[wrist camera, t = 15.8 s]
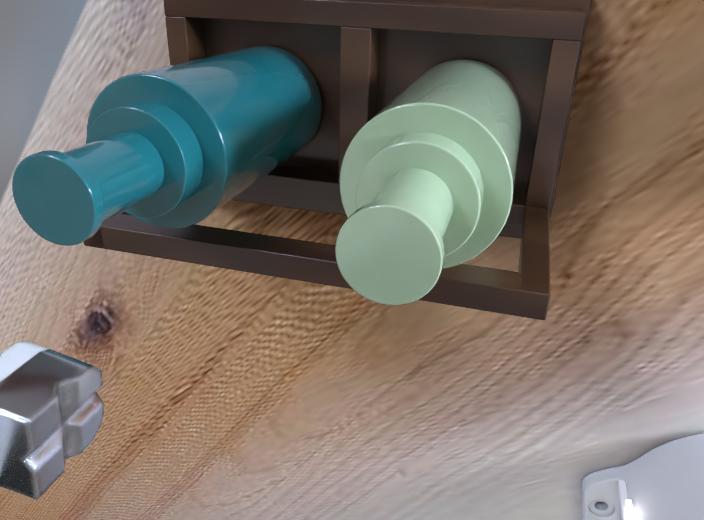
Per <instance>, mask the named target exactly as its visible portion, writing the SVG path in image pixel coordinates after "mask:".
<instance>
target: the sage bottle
mask: <svg viewBox="0 0 704 520" xmlns="http://www.w3.org/2000/svg"><path fill="white" fill-rule="evenodd" d="M521 127H522V109H521V104H520V101H519V98H518V95H517V93H516V91H515V89H514V87H513V86H512V84H511V83H510V81H509V80H508V79H507V78H506V77H505V76H504V75H503V74H502V73H501V72H499V71H498V70H497V69H495V68H493V67H492V66H490V65H488V64H485V63H483V62H479V61H476V60H469V59H457V60H450V61H446V62H443V63H440V64H438V65H436V66H434V67H432V68H431V69H429V70H427V71H426V72H425V73H424V74H422V75H421V76H420V77H419V78H418V79H417V80H415V81H414V82H413V83H412V84H411V85H410V86H409V87H407V88H406V89H405V90H404V91H403V92H402V93H401V94H399V95H398V96H397V97H396V98H395V99H394V100H392V101H391V102H390V103H389V104H388V105H387V106H386V107H384V108H383V109H382V110H381V111H380V112H379V113H378V114H376V115H375V116H374V117H373V118H372V119H371V120H370V121H368V122H367V123H366V124H365V125H364V126H363V127H362V128H361V129H360V130H359V131H358V133H357V134H356V135H355V137H354V138H353V139H352V141H351V143H350V145H349V146H348V148H347V150H346V153H345V156H344V158H343V162H342V166H341V171H340V194H341V199H342V204H343V207H344V210H345V213H346V215H347V217H348V219H347V220H346V222H345V223H344V224H343V226H342V227H341V229H340V231H339V234H338V236H337V240H336V247H335V253H336V260H337V264H338V267H339V270H340V272H341V274H342V276H343V277H344V279H345V280H346V282H347V283H348V284H349V285H350V286H351V287H352V288H353V289H354V290H355V291H356V292H357V293H359V294H360V295H362V296H363V297H365V298H367V299H369V300H371V301H374V302H376V303H380V304H385V305H403V304H407V303H411V302H414V301H416V300H418V299H420V298H422V297H423V296H425V295H426V294H427V293H428V292H429V291H430V290H431V289H432V288H433V287H434V285H435V284H436V283H437V281H438V279H439V276H440V274H441V271H442V269H443V268H449V267H453V266H456V265H459V264H462V263H464V262H467V261H469V260H471V259H472V258H474V257H476V256H477V255H479V254H480V253H481V252H483V251H484V250H485V249H487V248H488V247H489V246H490V245H491V244H492V243H493V241H494V240H495V239H496V238H497V236H498V235H499V234H500V232H501V231H502V229H503V227H504V225H505V223H506V221H507V218H508V216H509V213H510V209H511V205H512V200H513V192H514V184H515V176H516V168H517V159H518V151H519V143H520V135H521Z"/></svg>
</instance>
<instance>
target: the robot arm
mask: <svg viewBox="0 0 704 520" xmlns="http://www.w3.org/2000/svg"><path fill="white" fill-rule="evenodd" d="M102 385H103V382H102V371H101V370H100V369H98V368H96V367H95V366H92V365H89V364H87V363H84V362H82V361H79V360H76V359H74V358H71V357H69V356H66V355H63V354H61V353H58V352H56V351H53V350H50V349H47V348H44V347H42V346H39V345H36V344H34V343H31V342H28V341H23V342H18V343H15V344H14V345H13V346H11V347H10V348H8V349H7V350H6V351H4V352H3V353H1V354H0V486H1V487H4V488H6V489H9V490H12V491H15V492H17V493H20V494H23V495H25V496H28V497H31V498H34V499H36V500H38V499H39V498H40V497H41V496H42V495H43V493H44V492H45V491H46V490H47V489H48V488H49V487H50V486H51V485H52V484H53V483H54V482H55V481H56V480H57V479H58V478H59V477H60V476H61V475H62V473H63V472H64V471H65V460H66V459H67V458H70V457H72V456H75V455H78V454H80V453H82V452H83V451H84V450H85V449H86V448H87V447H88V446H89V444H90V443H91V442H92V441H93V439H94V438H95V436H96V434H97V432H98V430H99V428H100V426H101V423H102V419H103V415H104V403H103V402H102V400H101V399H100V397H99V395H98V394H97V392H96V391H97V390H98V389H99V388H100V387H101V386H102ZM581 491H582V520H704V433H702V434H696V435H691V436H687V437H683V438H679V439H676V440H673V441H670V442H668V443H665V444H663V445H660V446H658V447H656V448H654V449H652V450H651V451H649V452H647V453H646V454H644V455H642V456H641V457H639V458H638V459H636V460H634V461H632V462H630V463H628V464H626V465H623V466H618V467H613V468H608V469H603V470H599V471H596V472H593V473H591V474H588V475H587V476H586V477H584V479H583V481H582V485H581ZM599 501H602V502H599Z"/></svg>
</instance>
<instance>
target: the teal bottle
mask: <svg viewBox="0 0 704 520" xmlns="http://www.w3.org/2000/svg"><path fill="white" fill-rule="evenodd" d="M321 112H322V104H321V96H320V92H319V88H318V85H317V83H316V81H315V78H314V77H313V75H312V73H311V72H310V70H309V69H308V68H307V66H306V65H305V64H304V63H303V62H302V61H301V60H300V59H299V58H297V57H296V56H295V55H293V54H292V53H290V52H289V51H286V50H284V49H282V48H279V47H275V46H269V45H260V46H254V47H249V48H245V49H240V50H236V51H232V52H227V53H223V54H219V55H214V56H210V57H205V58H201V59H197V60H192V61H188V62H183V63H179V64H175V65H170V66H166V67H161V68H157V69H153V70H148V71H144V72H139V73H135V74H131V75H127V76H124V77H121V78H119V79H117V80H115V81H113V82H112V83H111V84H109V85H108V86H107V87H106V88H105V89H104V90H103V91H102V92H101V93H100V94H99V96H98V97H97V99H96V100H95V102H94V104H93V106H92V109H91V111H90V115H89V118H88V125H87V139H86V145H83V146H80V147H77V148H74V149H72V150H69V151H66V152H63V153H62V152H57V151H42V152H39V153H36V154H33V155H30V156H28V157H26V158H25V159H24V160H22V161H21V162H20V164H19V165H18V166H17V168H16V170H15V172H14V176H13V182H12V189H13V196H14V200H15V203H16V205H17V208H18V210H19V212H20V214H21V215H22V217H23V219H24V220H25V221H26V223H27V224H28V225H29V226H30V227H31V228H32V229H33V230H34V231H35V232H36V233H37V234H38V235H40V236H41V237H43V238H44V239H46V240H48V241H50V242H52V243H55V244H59V245H66V246H68V245H76V244H79V243H81V242H83V241H85V240H87V239H88V238H90V237H92V236H93V235H94V234H95V233H96V232H97V231H98V230H99V228H100V226H101V224H102V222H103V221H105V220H107V219H109V218H111V217H112V216H114V215H116V214H118V213H120V212H122V211H124V212H126V213H128V214H130V215H132V216H133V217H135V218H137V219H139V220H141V221H143V222H145V223H147V224H150V225H153V226H157V227H162V228H183V227H188V226H191V225H194V224H196V223H198V222H200V221H202V220H203V219H205V218H206V217H208V216H209V215H210V214H212V213H213V212H215V211H216V210H218V209H219V208H220V207H222V206H223V205H225V204H226V203H227V202H229V201H230V200H232V199H233V198H234V197H236V196H237V195H239V194H240V193H242V192H243V191H244V190H246V189H247V188H249V187H250V186H251V185H253V184H254V183H256V182H257V181H258V180H260V179H261V178H263V177H264V176H266V175H267V174H268V173H270V172H271V171H273V170H274V169H275V168H277V167H278V166H280V165H281V164H282V163H284V162H285V161H287V160H288V159H290V158H291V157H292V156H294V155H295V154H297V153H298V152H299V151H301V150H302V149H303V148H305V147H306V146H307V145H308V144H309V143H310V141H311V140H312V139H313V137H314V136H315V134H316V132H317V130H318V127H319V124H320V119H321Z"/></svg>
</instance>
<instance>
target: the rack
mask: <svg viewBox="0 0 704 520" xmlns="http://www.w3.org/2000/svg"><path fill="white" fill-rule="evenodd" d="M591 1H592V0H164V9H165V16H166V17H165V18H166V28H167V37H168V46H169V55H170V65H175V64H179V63H183V62H188V61H192V60H197V59H201V58H205V57H210V56H214V55H219V54H223V53H227V52H232V51H236V50H240V49H245V48H249V47H254V46H260V45H269V46H275V47H279V48H282V49H284V50H286V51H289V52H290V53H292V54H293V55H295V56H296V57H297V58H299V59H300V60H301V61H302V62H303V63H304V64H305V65H306V66H307V68H308V69H309V70H310V72H311V73H312V75H313V77H314V78H315V81H316V83H317V85H318V88H319V92H320V96H321V104H322V112H321V119H320V124H319V127H318V130H317V132H316V134H315V136H314V137H313V139H312V140H311V141H310V143H309V144H308V145H307V146H306V147H305V148H303V149H302V150H301V151H299V152H298V153H297V154H295V155H294V156H292V157H291V158H290V159H288V160H287V161H285V162H284V163H282V164H281V165H280V166H278V167H277V168H275V169H274V170H273V171H271V172H270V173H268V174H267V175H266V176H264V177H263V178H261V179H260V180H258V181H257V182H256V183H254V184H253V185H251V186H250V187H249V188H247V189H246V190H244V191H243V192H242V193H240V194H239V195H237V196H236V197H234V198H233V199H232V200H237V201H245V202H252V203H260V204H267V205H275V206H282V207H289V208H297V209H304V210H312V211H319V212H327V213H334V214H342V215H346V213H345V210H344V207H343V204H342V199H341V194H340V171H341V166H342V162H343V158H344V156H345V153H346V150H347V148H348V146H349V145H350V143H351V141H352V139H353V138H354V137H355V135H356V134H357V133H358V131H359V130H360V129H361V128H362V127H363V126H364V125H365V124H366V123H367V122H368V121H370V120H371V119H372V118H373V117H374V116H375V115H376V114H378V113H379V112H380V111H381V110H382V109H383V108H384V107H386V106H387V105H388V104H389V103H390V102H391V101H392V100H394V99H395V98H396V97H397V96H398V95H399V94H401V93H402V92H403V91H404V90H405V89H406V88H407V87H409V86H410V85H411V84H412V83H413V82H414V81H415V80H417V79H418V78H419V77H420V76H421V75H422V74H424V73H425V72H426V71H427V70H429V69H431V68H432V67H434V66H436V65H438V64H440V63H443V62H446V61H450V60H457V59H469V60H476V61H479V62H483V63H485V64H488V65H490V66H492V67H493V68H495V69H497V70H498V71H499V72H501V73H502V74H503V75H504V76H505V77H506V78H507V79H508V80H509V81H510V83H511V84H512V86H513V87H514V89H515V91H516V93H517V95H518V98H519V101H520V104H521V109H522V127H521V135H520V143H519V151H518V159H517V168H516V176H515V184H514V192H513V200H512V205H511V209H510V213H509V216H508V218H507V221H506V223H505V225H504V227H503V229H502V231H501V232H500V234H499V235H498V236H505V237H513V238H520V239H521V245H520V258H519V270H518V272H513V271H506V270H500V269H493V268H486V267H479V266H472V265H465V264H459V265H456V266H453V267H449V268H443V269H442V271H441V274H440V276H439V279H438V281H437V283H436V284H435V285H434V287H433V288H432V289H431V290H430V291H429V292H428V293H427V294H426V295H425V296H423V297H422V298H420V299H418V300H423V301H429V302H435V303H441V304H447V305H453V306H460V307H466V308H472V309H478V310H484V311H490V312H496V313H502V314H509V315H515V316H521V317H527V318H533V319H539V320H545V319H546V316H547V311H548V306H549V301H550V296H551V295H550V246H549V222H550V216H551V211H552V206H553V201H554V195H555V190H556V185H557V180H558V174H559V169H560V164H561V159H562V153H563V148H564V143H565V137H566V132H567V127H568V122H569V116H570V111H571V106H572V101H573V95H574V90H575V85H576V80H577V74H578V69H579V64H580V58H581V53H582V48H583V43H584V37H585V32H586V27H587V22H588V16H589V11H590V6H591ZM84 245H85V246H92V247H98V248H104V249H110V250H116V251H122V252H128V253H134V254H141V255H147V256H153V257H159V258H165V259H171V260H177V261H184V262H190V263H196V264H202V265H208V266H214V267H220V268H226V269H233V270H239V271H245V272H251V273H257V274H263V275H269V276H276V277H282V278H288V279H294V280H300V281H306V282H312V283H318V284H325V285H331V286H337V287H343V288H349V289H353V288H352V287H351V286H350V285H349V284H348V283H347V282H346V280H345V279H344V277H343V276H342V274H341V272H340V270H339V267H338V264H337V260H336V253H335V247H336V245H329V244H322V243H316V242H309V241H302V240H295V239H288V238H282V237H275V236H268V235H261V234H254V233H248V232H241V231H234V230H227V229H220V228H214V227H207V226H200V225H191V226H188V227H183V228H162V227H157V226H153V225H150V224H147V223H145V222H143V221H141V220H139V219H137V218H135V217H133V216H132V215H130V214H128V213H126V212H124V211H122V212H120V213H118V214H116V215H114V216H112V217H111V218H109V219H107V220H105V221H103V222H102V224H101V226H100V228H99V230H98V231H97V232H96V233H95V234H94V235H93V236H92V237H90V238H88V239H87V240H85V241H84Z"/></svg>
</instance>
